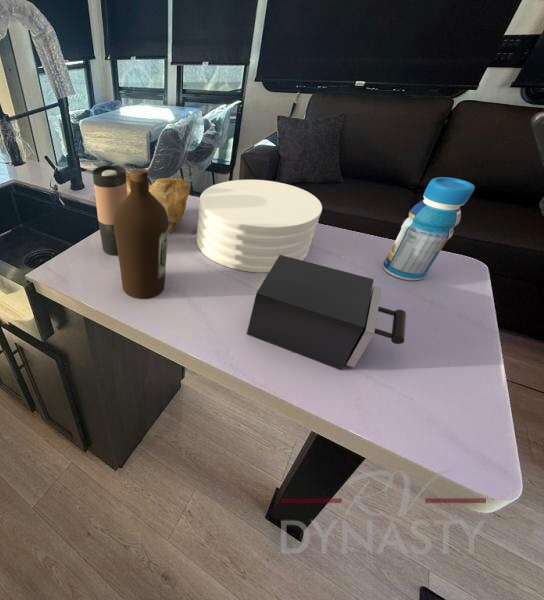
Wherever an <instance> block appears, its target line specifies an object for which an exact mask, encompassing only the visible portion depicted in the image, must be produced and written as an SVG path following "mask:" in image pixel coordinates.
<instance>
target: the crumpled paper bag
mask: <svg viewBox="0 0 544 600" xmlns="http://www.w3.org/2000/svg"><path fill="white" fill-rule="evenodd" d="M130 179H131V176H130V172H127V171H126V181H127V194H128V195H129V194H130V192H131V189H130ZM190 191H191V189H190V183H189V182H188V181H187V180H185V179H184V178H181V177H176V178H168V177H161V178H157V179H155V181H154V182H153V183H151V184H149V192H150V193H151V194H152V195H153V196H154V197H155V198H156V199H157V200H158V201H159V202H160V203H161V204H162V205H163V207H164V208H165V210H166V213H167V216H168V221H169V227H168V234H171V233H173V232H174V230H175V228H176V227H177V224H178V222H182V220H183V217H184V214H185V211H186V208H187V201H188V197H189V196H190V195H189V194H190Z"/></svg>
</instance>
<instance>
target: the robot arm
mask: <svg viewBox="0 0 544 600" xmlns="http://www.w3.org/2000/svg"><path fill="white" fill-rule="evenodd" d="M530 126H531V129H532V132H533V136H534V139H535V142H536V143H535V144H536V146H537V150H538V153H539V157H540V160H541V163H542V166H543V167H544V111H540V112H537V113H535V114H534V115H532V117H531V118H530ZM538 207H539V209H540V210H541V214H542V216H543V217H544V196H542V199H540V201H539V205H538Z"/></svg>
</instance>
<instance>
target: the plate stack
mask: <svg viewBox="0 0 544 600" xmlns="http://www.w3.org/2000/svg"><path fill="white" fill-rule="evenodd" d="M322 212H323V205H322V202H321V201H320V200H319V199H318V197H317V196H315V195H314V194H312V193H310V192H309V191H307V190H305V189H302V188H300V187H298V186H295V185H291V184H287V183H283V182H278V181H274V180H265V179H235V180H228V181H223V182H220V183H215V184H213V185H210V186H209V187H207V188H206V189H204V190H203V192H202V193H201V194H200V196H199V206H198V219H197V228H196V229H197V230H196V245H197V248H198V249H199V251H200V252H201V253H202V254H203V255H204V256H205V257H206V258H208V259H210V260H211V261H213V262H214V263H217V264H219V265H221V266H224V267H227V268H230V269H233V270H237V271H242V272H250V273H269V272H270V270H271V268H272V267H273V265H274V263H275V262H276V260H277V259H278V257H279V255H283V256H287V257H291V258H295V259H298V260H302V261H305V259H306V258H307V256H308V254H309V250H310V247H311V244H312V241H313V238H314V235H315V232H316V228H317V226H318V224H319V221H320V220H319V219H320V217H321V215H322Z"/></svg>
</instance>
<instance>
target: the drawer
mask: <svg viewBox="0 0 544 600" xmlns="http://www.w3.org/2000/svg"><path fill="white" fill-rule="evenodd" d="M381 294H382V288H381V287H379V286H372V291H371V296H370V301H369V306H368V311H367V316H366V321H365V326H364V329H363V331H362V332H361V334H360V336H359V338H358V340H357V342H356V343H355V345H354V347H353V349H352V351H351V352H350V354H349V356H348V358H347V360H346V361H345V366H348V367H350V368H353V369H354V368H355V367H356V366H357V364H358V362H359V360H360V359H361V358H362V355H363V353H364V352H365V350H366V349H367V347H368V345H369V343H370V342H371V340H372V338H373V336H374V335H379V336H382V337H385V338H388V339H390V342H392V343H393V344H395V345H401V344H404V343H405V336H406V321H407V320H406V319H407V312H406V311H405V310H404V309H399V308H398V309H395V310H392V309H389V308H385V307H382V306H380V300H381V296H382V295H381ZM379 312H380V313H382V314H386V315H389V316H392V326H391V332H389V331H386V330H383V329H379V328H376V326H377V319H378V313H379Z"/></svg>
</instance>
